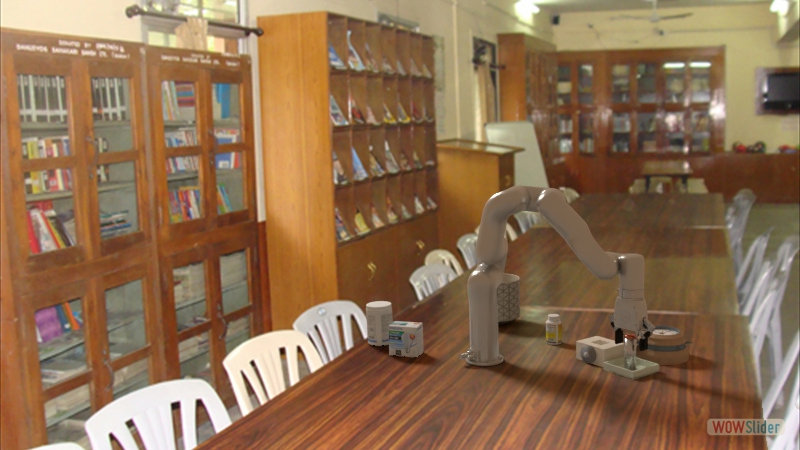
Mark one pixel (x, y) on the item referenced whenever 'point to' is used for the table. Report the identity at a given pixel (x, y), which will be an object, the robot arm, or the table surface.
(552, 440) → the table surface
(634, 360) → the pin
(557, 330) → the supplement bottle
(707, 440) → the table surface
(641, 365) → the tray
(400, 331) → the light bulb box
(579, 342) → the block
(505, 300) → the planter
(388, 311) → the supplement tub
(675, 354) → the alarm clock
